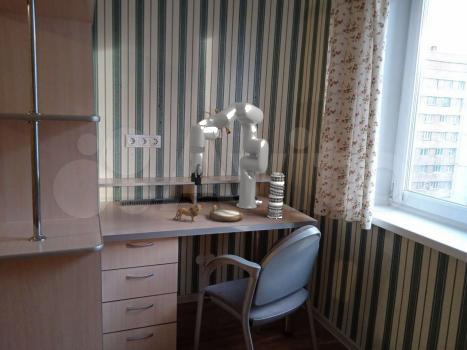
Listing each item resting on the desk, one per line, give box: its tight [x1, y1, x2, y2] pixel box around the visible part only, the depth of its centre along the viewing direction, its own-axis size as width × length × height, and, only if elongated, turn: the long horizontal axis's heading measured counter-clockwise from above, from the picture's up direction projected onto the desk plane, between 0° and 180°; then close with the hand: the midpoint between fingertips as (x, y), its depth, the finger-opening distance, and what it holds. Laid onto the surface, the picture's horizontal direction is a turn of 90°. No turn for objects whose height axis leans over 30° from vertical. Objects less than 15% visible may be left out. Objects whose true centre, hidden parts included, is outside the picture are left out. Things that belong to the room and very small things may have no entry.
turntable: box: [209, 204, 244, 222], centre depth 199 cm, size 18×18×5 cm
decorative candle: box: [266, 171, 286, 220], centre depth 205 cm, size 9×9×25 cm
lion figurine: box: [172, 203, 203, 223], centre depth 189 cm, size 15×5×9 cm, turn 90°
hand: (195, 183), depth 187 cm, fingers open, 9 cm apart
